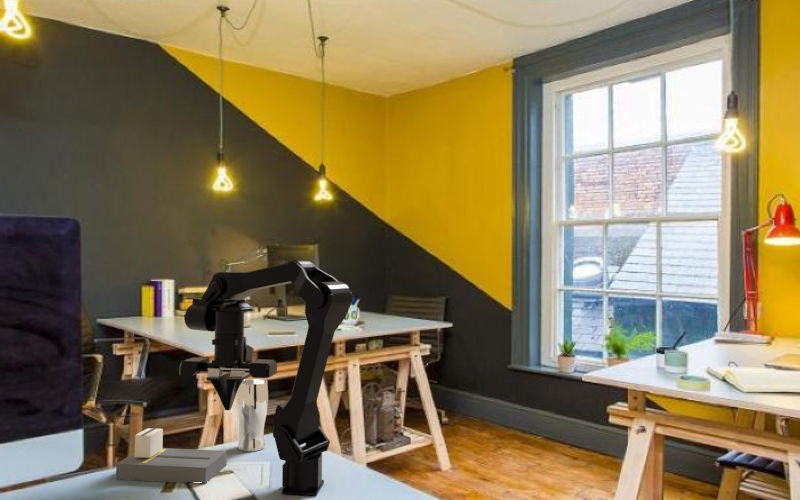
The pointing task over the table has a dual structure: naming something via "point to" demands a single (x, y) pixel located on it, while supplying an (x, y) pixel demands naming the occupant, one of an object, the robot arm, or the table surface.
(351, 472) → the table surface
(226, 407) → the robot arm
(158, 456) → the fader console
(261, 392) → the beer glass
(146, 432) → the fader tab
